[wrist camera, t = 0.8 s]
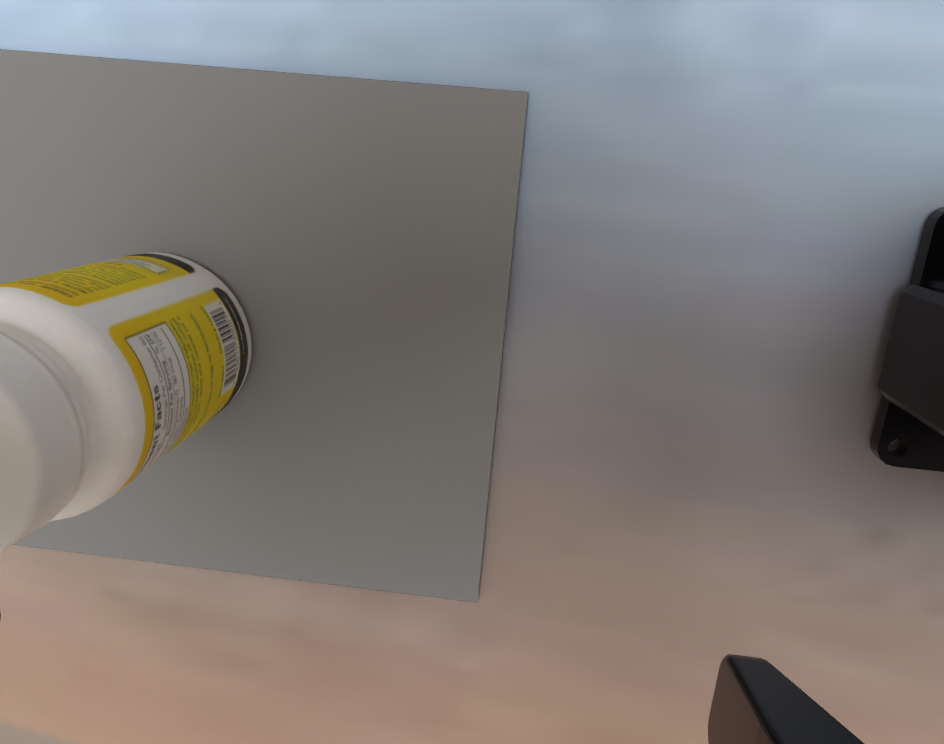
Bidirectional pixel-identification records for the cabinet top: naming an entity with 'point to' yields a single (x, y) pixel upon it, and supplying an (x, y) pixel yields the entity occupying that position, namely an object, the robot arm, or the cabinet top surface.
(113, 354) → the supplement bottle
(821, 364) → the cabinet top surface
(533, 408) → the cabinet top surface
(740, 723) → the robot arm
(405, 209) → the flat gray panel
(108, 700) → the cabinet top surface
